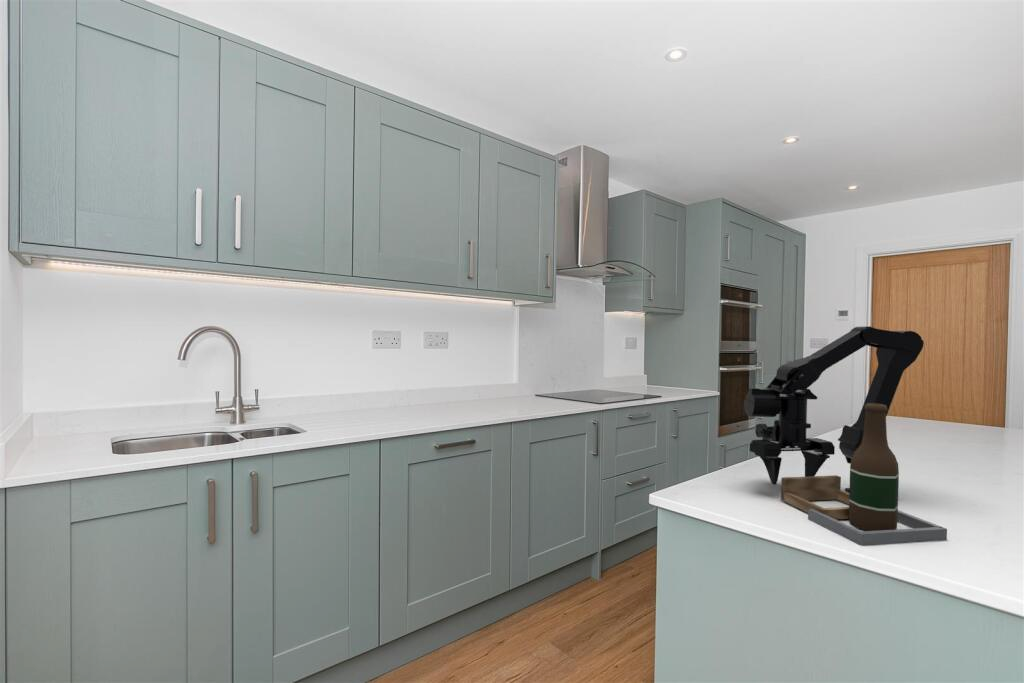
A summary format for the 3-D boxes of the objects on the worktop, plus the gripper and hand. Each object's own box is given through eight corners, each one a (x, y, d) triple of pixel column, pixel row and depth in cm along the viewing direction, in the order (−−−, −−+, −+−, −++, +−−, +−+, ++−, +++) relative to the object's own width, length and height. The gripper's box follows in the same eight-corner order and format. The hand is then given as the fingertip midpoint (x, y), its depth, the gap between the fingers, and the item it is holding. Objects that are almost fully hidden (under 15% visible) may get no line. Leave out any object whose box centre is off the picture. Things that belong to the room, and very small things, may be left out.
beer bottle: (903, 538, 91) (907, 408, 90) (852, 530, 94) (856, 405, 94) (891, 523, 98) (894, 402, 97) (844, 517, 101) (847, 400, 101)
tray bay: (884, 514, 103) (885, 505, 103) (946, 539, 90) (947, 528, 90) (807, 518, 100) (808, 509, 100) (861, 545, 88) (861, 534, 87)
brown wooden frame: (836, 497, 113) (836, 475, 113) (883, 516, 101) (884, 492, 101) (780, 499, 110) (781, 477, 110) (823, 520, 99) (823, 495, 98)
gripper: (801, 411, 126) (799, 472, 127) (735, 412, 123) (734, 475, 123) (837, 419, 115) (835, 485, 116) (766, 420, 112) (765, 489, 112)
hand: (790, 483), depth 117 cm, fingers open, 9 cm apart
